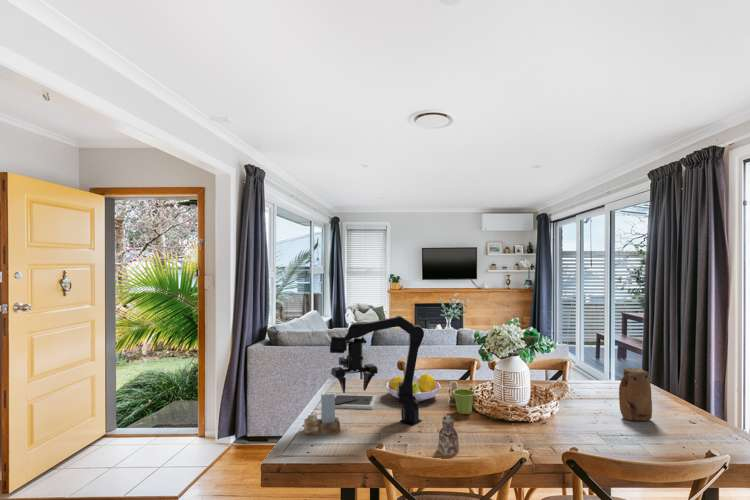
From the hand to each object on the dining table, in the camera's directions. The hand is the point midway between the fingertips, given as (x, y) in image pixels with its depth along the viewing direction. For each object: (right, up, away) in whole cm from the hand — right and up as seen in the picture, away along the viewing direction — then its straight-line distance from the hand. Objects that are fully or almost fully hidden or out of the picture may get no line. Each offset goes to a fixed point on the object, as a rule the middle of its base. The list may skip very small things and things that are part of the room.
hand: (354, 391), depth 169 cm
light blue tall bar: (-10, -12, -8) cm, 18 cm away
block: (+116, -11, -1) cm, 116 cm away
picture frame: (-2, -14, +24) cm, 28 cm away
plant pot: (+48, -12, +9) cm, 50 cm away
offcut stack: (-16, -11, -10) cm, 22 cm away
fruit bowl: (+27, -14, +30) cm, 43 cm away
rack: (-12, -12, -9) cm, 19 cm away
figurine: (+34, -11, -27) cm, 45 cm away
